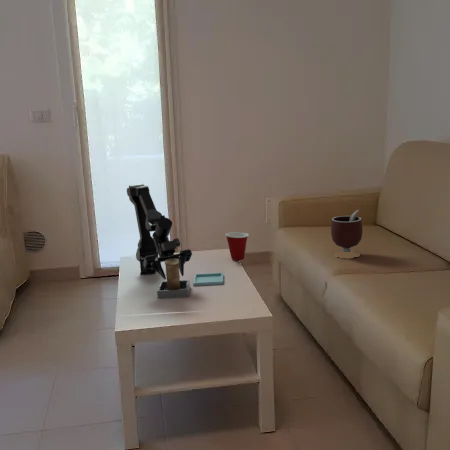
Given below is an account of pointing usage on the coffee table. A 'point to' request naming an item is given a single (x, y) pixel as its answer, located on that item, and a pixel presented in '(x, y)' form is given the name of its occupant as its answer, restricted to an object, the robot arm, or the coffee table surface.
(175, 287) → the canister
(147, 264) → the robot arm
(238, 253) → the plastic cup
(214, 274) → the tray
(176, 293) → the holder
